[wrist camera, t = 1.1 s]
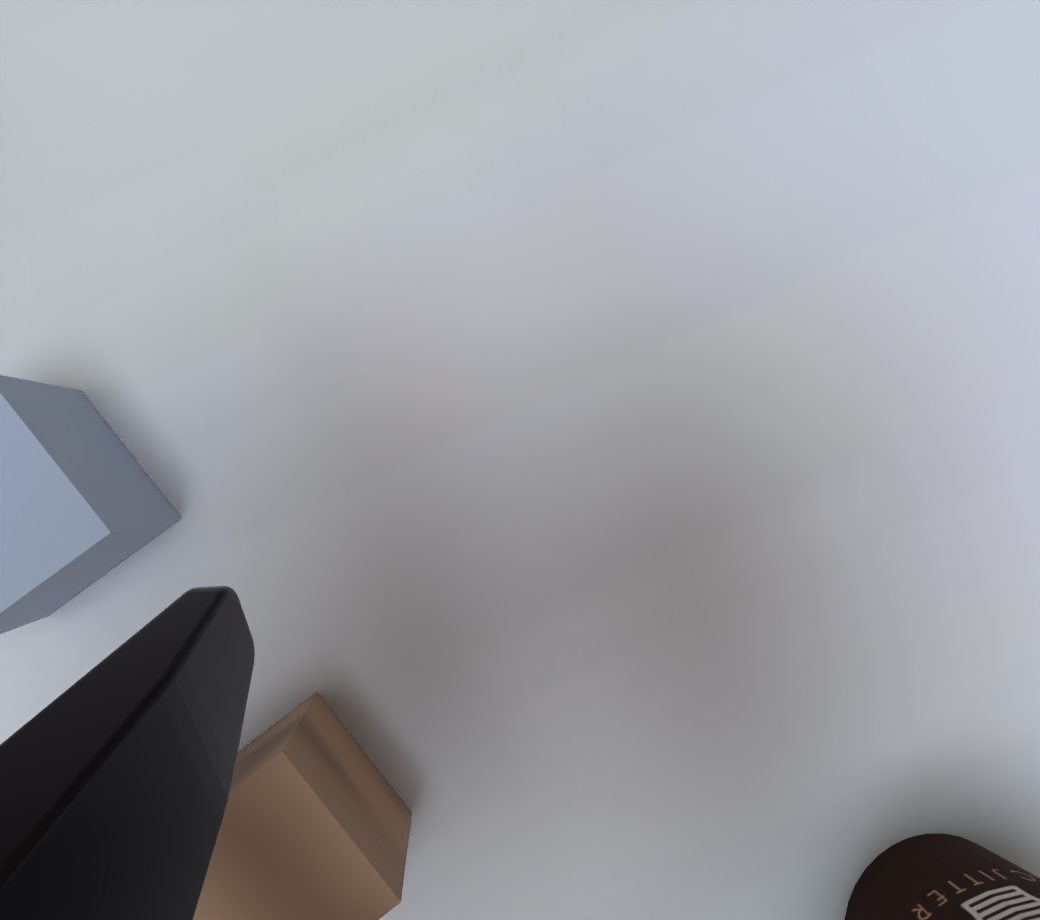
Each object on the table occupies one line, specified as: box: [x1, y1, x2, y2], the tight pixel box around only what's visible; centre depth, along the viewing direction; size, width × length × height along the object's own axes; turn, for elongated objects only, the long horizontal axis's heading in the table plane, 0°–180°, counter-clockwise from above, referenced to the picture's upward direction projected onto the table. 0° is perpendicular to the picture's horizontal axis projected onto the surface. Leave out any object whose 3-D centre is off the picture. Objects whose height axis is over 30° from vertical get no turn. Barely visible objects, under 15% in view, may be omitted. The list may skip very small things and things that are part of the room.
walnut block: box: [193, 692, 411, 920], centre depth 22 cm, size 5×5×5 cm
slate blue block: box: [0, 375, 181, 634], centre depth 21 cm, size 5×5×5 cm
